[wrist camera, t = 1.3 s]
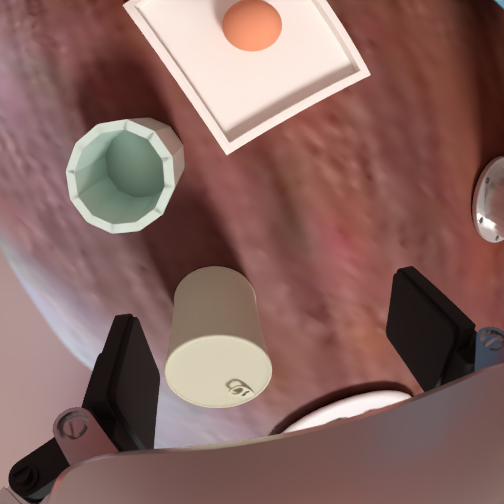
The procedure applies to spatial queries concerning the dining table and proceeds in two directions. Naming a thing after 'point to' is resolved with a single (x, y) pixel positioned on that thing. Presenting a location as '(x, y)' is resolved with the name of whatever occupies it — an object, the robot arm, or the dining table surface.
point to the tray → (249, 62)
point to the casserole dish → (500, 3)
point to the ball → (252, 25)
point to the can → (216, 340)
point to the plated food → (348, 408)
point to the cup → (125, 173)
